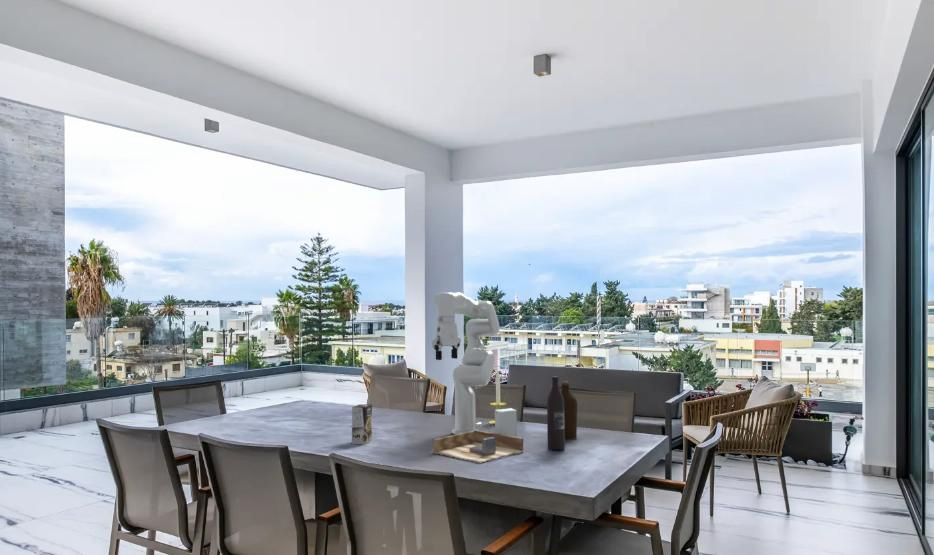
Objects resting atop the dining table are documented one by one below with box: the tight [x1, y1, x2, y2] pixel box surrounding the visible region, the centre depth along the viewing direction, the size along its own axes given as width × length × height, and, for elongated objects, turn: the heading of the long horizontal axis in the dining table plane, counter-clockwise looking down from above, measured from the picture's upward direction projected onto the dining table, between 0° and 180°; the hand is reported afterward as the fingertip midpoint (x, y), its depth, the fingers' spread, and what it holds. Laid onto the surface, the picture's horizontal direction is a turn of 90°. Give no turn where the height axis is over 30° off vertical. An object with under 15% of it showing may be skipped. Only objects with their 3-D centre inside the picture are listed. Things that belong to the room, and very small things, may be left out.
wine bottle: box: [546, 375, 566, 452], centre depth 264 cm, size 7×7×30 cm
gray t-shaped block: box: [470, 437, 496, 455], centre depth 254 cm, size 9×6×6 cm, turn 49°
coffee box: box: [351, 403, 373, 445], centre depth 280 cm, size 9×6×16 cm
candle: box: [488, 370, 507, 425], centre depth 325 cm, size 10×10×27 cm
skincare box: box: [494, 407, 518, 437], centre depth 274 cm, size 8×6×15 cm
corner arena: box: [432, 429, 524, 464], centre depth 258 cm, size 26×26×6 cm
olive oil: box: [560, 380, 578, 440], centre depth 288 cm, size 11×11×25 cm
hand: (446, 359), depth 280 cm, fingers open, 9 cm apart
